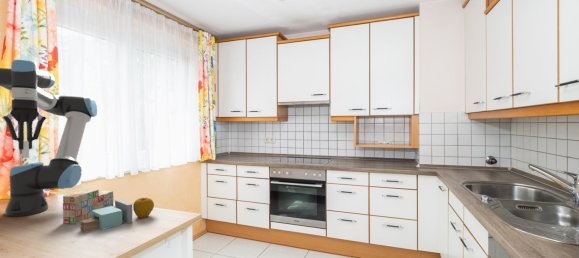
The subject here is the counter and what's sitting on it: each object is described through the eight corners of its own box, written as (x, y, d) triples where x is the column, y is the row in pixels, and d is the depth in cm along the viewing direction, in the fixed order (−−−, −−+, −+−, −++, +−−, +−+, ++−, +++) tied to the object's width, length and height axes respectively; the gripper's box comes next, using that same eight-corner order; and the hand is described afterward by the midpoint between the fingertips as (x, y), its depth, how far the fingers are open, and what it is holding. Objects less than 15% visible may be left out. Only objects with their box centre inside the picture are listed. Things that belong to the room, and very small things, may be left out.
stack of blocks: (102, 208, 141) (102, 184, 141) (113, 209, 140) (113, 185, 140) (62, 223, 120) (62, 195, 120) (75, 224, 119) (75, 196, 119)
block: (91, 224, 120) (91, 210, 120) (111, 219, 126) (111, 205, 126) (101, 229, 114) (101, 215, 114) (122, 224, 120) (122, 210, 120)
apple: (157, 213, 134) (157, 195, 134) (147, 220, 126) (147, 200, 125) (139, 213, 134) (139, 195, 134) (129, 219, 126) (129, 200, 126)
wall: (115, 217, 128) (115, 200, 128) (119, 216, 130) (119, 199, 130) (127, 223, 121) (127, 205, 121) (132, 222, 123) (132, 204, 123)
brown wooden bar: (80, 230, 113) (80, 220, 113) (108, 223, 122) (108, 214, 121) (84, 233, 111) (84, 223, 111) (112, 225, 119) (112, 216, 119)
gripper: (4, 97, 105) (5, 159, 106) (48, 100, 116) (49, 156, 116) (-1, 98, 109) (0, 158, 110) (42, 100, 120) (43, 155, 121)
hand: (25, 157), depth 113 cm, fingers closed
